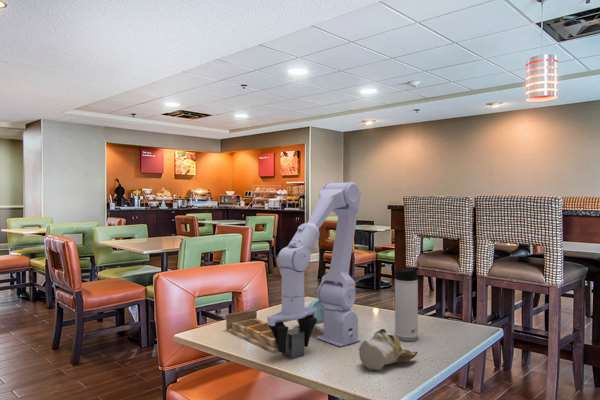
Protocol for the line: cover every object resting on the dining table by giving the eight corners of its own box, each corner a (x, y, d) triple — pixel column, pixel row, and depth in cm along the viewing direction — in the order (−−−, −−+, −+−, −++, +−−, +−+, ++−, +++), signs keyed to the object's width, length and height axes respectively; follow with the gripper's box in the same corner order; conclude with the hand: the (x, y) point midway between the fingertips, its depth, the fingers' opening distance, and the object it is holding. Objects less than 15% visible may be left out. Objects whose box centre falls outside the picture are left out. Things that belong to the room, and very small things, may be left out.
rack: (303, 344, 117) (303, 326, 117) (273, 353, 110) (273, 333, 110) (254, 324, 135) (254, 308, 135) (226, 331, 129) (226, 314, 129)
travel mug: (419, 342, 118) (419, 269, 118) (395, 341, 119) (395, 268, 119) (418, 335, 124) (418, 266, 124) (394, 334, 126) (394, 265, 126)
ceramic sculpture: (347, 328, 102) (384, 320, 112) (345, 365, 102) (383, 353, 112) (384, 339, 94) (420, 329, 105) (383, 379, 94) (419, 365, 104)
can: (304, 298, 136) (321, 292, 126) (318, 316, 136) (336, 311, 126) (289, 313, 133) (305, 308, 122) (303, 331, 132) (321, 328, 122)
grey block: (304, 355, 109) (304, 332, 109) (291, 359, 106) (291, 335, 106) (294, 351, 112) (294, 328, 112) (282, 355, 109) (282, 331, 109)
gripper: (305, 288, 117) (305, 338, 117) (260, 296, 107) (260, 350, 107) (322, 292, 111) (322, 345, 111) (276, 301, 102) (277, 359, 102)
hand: (293, 348), depth 109 cm, fingers open, 7 cm apart
